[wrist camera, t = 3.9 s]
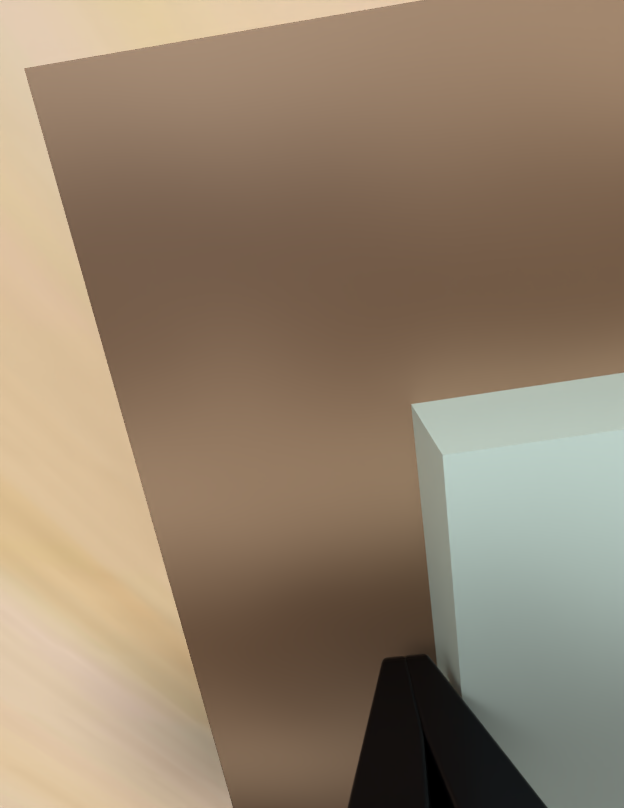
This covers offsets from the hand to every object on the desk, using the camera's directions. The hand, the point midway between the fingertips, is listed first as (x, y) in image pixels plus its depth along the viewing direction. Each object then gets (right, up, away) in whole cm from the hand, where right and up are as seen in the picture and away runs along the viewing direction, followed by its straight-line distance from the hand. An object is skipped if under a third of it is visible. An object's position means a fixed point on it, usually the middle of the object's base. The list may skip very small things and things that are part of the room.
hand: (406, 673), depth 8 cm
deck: (+2, +2, +5) cm, 5 cm away
